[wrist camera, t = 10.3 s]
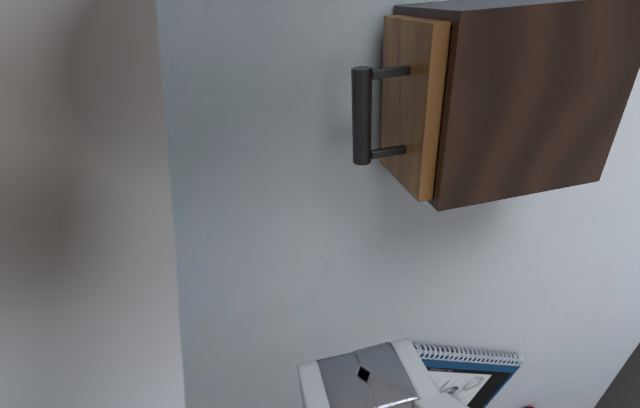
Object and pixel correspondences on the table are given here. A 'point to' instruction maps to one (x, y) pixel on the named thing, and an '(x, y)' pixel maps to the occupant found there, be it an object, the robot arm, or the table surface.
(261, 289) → the table surface
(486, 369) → the sketchbook
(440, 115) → the wooden pull-out drawer
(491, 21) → the wooden drawer box
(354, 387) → the robot arm
